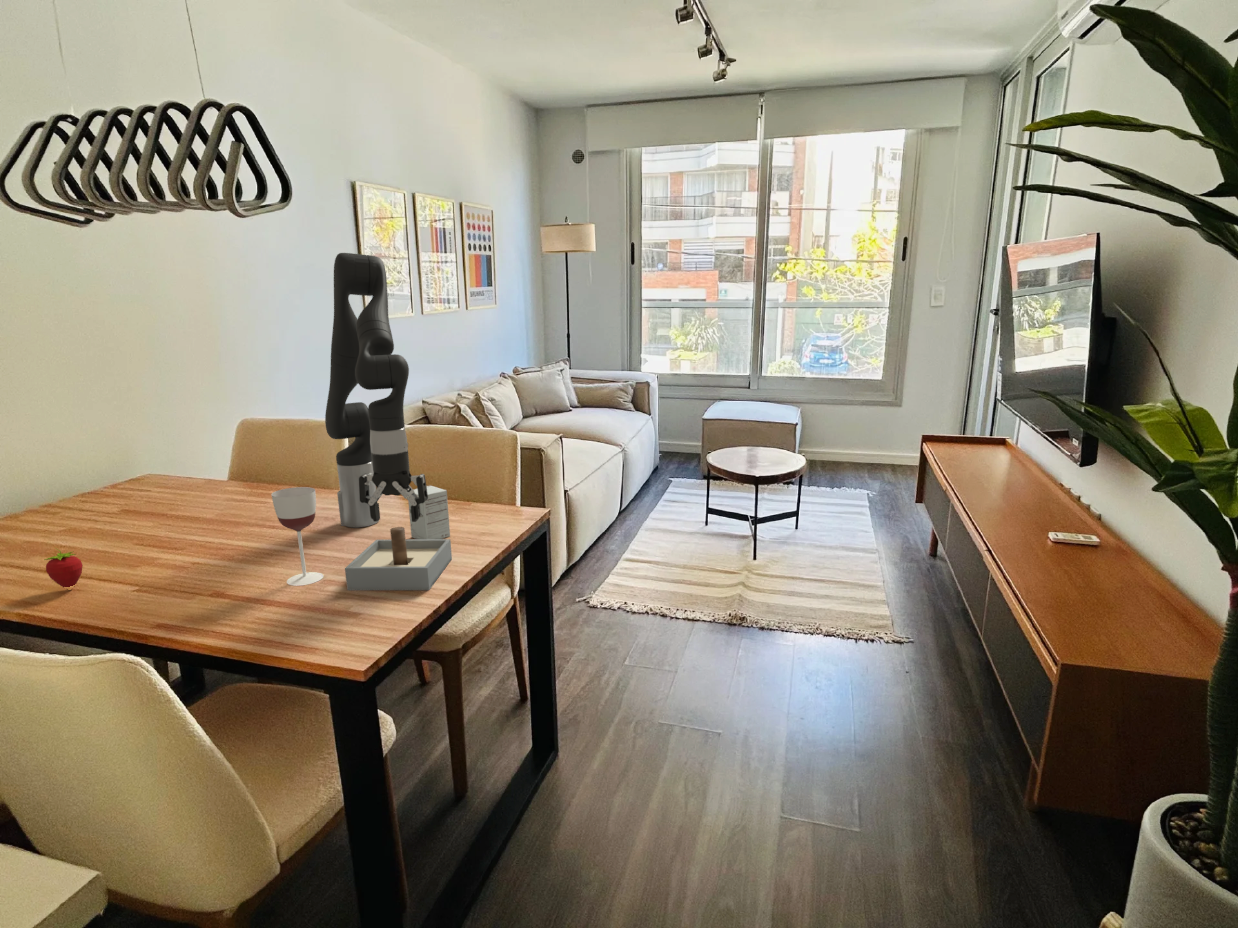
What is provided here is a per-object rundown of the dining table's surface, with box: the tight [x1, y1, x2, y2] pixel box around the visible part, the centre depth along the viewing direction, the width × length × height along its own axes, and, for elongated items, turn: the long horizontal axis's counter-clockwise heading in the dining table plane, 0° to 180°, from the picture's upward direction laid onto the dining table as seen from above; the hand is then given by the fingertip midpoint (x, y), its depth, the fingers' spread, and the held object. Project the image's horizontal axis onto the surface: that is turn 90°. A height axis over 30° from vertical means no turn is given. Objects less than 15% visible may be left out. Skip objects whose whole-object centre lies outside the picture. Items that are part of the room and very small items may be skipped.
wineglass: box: [271, 486, 324, 587], centre depth 151 cm, size 8×9×20 cm
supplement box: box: [407, 485, 451, 539], centre depth 177 cm, size 7×7×13 cm
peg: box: [389, 526, 408, 565], centre depth 153 cm, size 3×3×10 cm
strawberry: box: [44, 547, 84, 588], centre depth 148 cm, size 6×8×10 cm
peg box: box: [344, 538, 453, 591], centre depth 154 cm, size 18×18×5 cm
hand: (396, 520), depth 152 cm, fingers open, 8 cm apart
